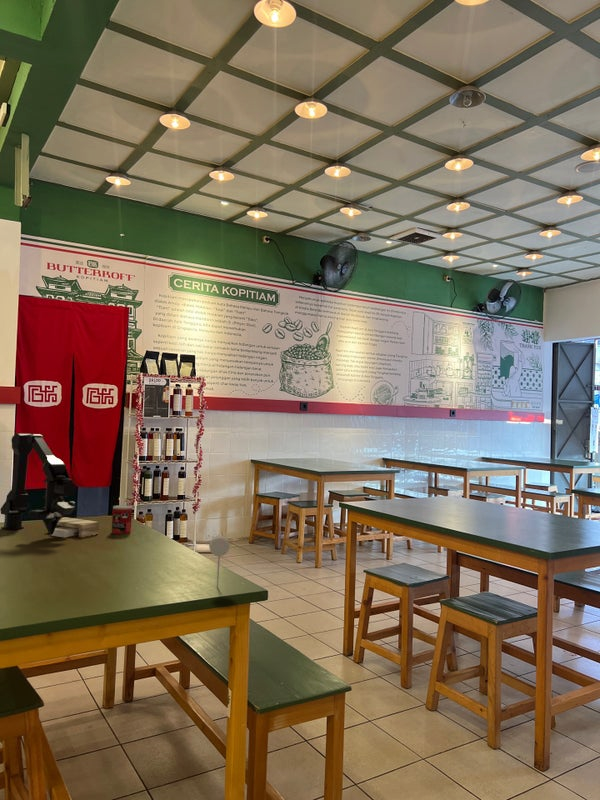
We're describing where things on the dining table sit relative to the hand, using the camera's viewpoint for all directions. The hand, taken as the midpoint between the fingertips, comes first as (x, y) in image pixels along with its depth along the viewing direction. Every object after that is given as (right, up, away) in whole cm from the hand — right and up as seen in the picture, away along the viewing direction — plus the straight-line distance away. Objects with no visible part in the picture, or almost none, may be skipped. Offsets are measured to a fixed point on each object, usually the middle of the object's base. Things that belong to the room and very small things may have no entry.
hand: (51, 534), depth 235 cm
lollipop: (+73, -3, -59) cm, 94 cm away
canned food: (+22, -3, +17) cm, 28 cm away
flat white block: (+4, -2, +8) cm, 9 cm away
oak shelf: (+5, -2, +11) cm, 12 cm away
